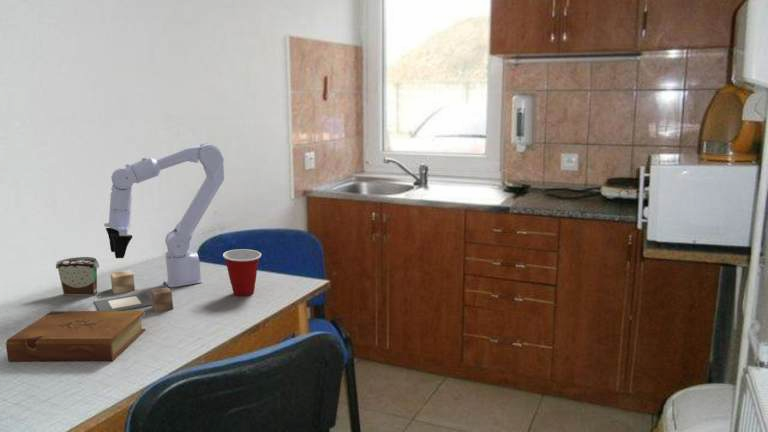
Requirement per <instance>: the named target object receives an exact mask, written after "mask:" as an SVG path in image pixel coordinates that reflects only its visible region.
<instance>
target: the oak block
mask: <svg viewBox="0 0 768 432" xmlns="http://www.w3.org/2000/svg"><path fill="white" fill-rule="evenodd" d="M109 275H110V282H111V283H110V284H111V289H112V292H114V294H120V293H127V292H133V291H135V290H136V287H135V279H134V273H133V272H132V271H131V270H130V269H128V270H122V271H115V272H110V273H109Z"/></svg>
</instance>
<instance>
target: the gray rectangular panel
mask: <svg viewBox="0 0 768 432" xmlns="http://www.w3.org/2000/svg"><path fill="white" fill-rule="evenodd" d="M94 304H95V306H96V308H97V311H131V310H135V309H140V308H145V307H152V299H151V295H149V294H148V293H147V292H141V293H137V294H129V295H124V296H117V297H111V298H105V299H99V300H94Z"/></svg>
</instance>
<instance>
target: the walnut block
mask: <svg viewBox="0 0 768 432" xmlns="http://www.w3.org/2000/svg"><path fill="white" fill-rule="evenodd" d="M150 298H151V299H152V306H151V307H152V309H153V311H154V312H155V313H160V311H161V312H166V311H170V310H174V303H173V292H172V290H171V288H170V287H169V286H167V287H162V288H154V289H150Z"/></svg>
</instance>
